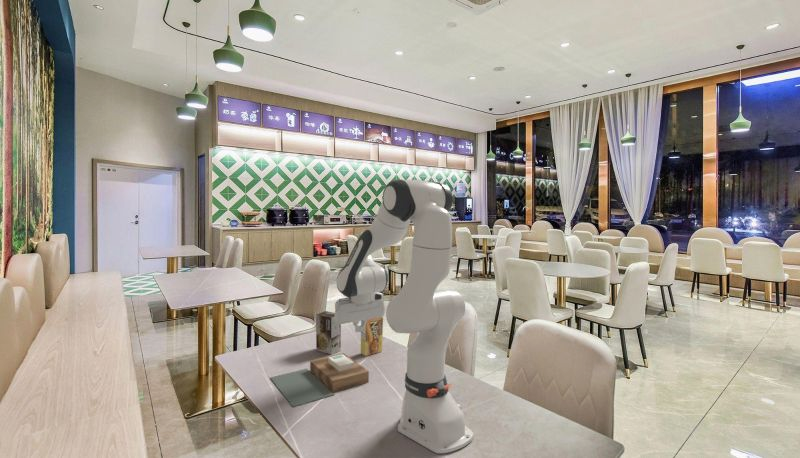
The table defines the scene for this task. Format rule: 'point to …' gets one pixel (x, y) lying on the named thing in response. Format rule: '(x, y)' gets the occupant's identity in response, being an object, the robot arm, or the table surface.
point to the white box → (341, 362)
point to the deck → (338, 374)
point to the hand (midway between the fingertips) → (359, 331)
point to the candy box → (372, 336)
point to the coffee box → (327, 333)
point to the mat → (301, 387)
